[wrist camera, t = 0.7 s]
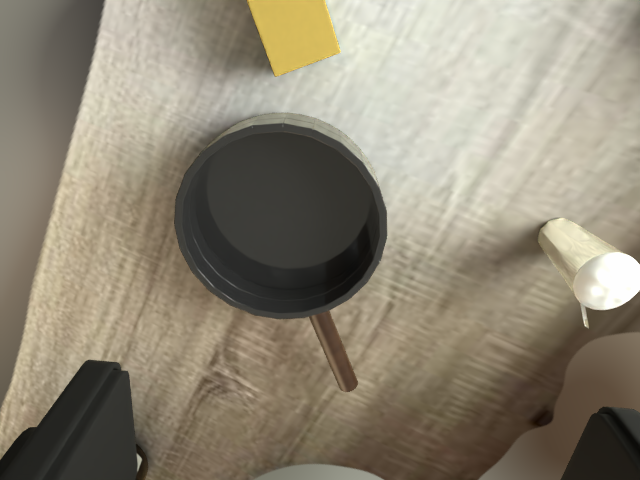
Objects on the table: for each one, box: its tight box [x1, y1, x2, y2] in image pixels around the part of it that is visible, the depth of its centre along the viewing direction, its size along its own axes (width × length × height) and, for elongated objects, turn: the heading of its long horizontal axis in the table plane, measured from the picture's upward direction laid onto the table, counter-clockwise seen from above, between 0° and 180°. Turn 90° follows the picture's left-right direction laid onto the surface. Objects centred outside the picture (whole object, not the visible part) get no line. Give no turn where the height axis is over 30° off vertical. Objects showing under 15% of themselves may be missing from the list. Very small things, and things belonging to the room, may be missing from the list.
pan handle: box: [309, 311, 358, 392], centre depth 41 cm, size 9×2×2 cm, turn 19°
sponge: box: [247, 0, 341, 77], centre depth 31 cm, size 7×5×4 cm, turn 19°
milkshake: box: [538, 218, 640, 328], centre depth 35 cm, size 4×5×10 cm
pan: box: [174, 113, 387, 319], centre depth 37 cm, size 16×16×4 cm
